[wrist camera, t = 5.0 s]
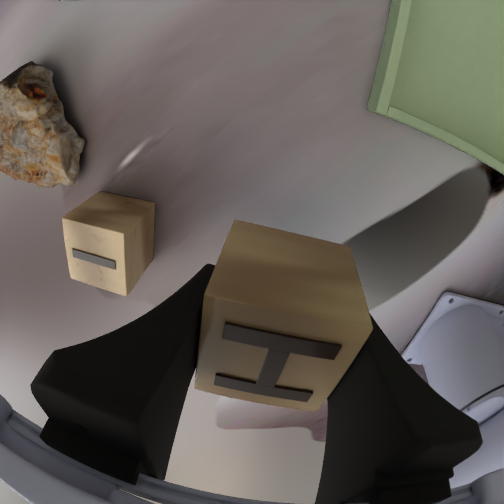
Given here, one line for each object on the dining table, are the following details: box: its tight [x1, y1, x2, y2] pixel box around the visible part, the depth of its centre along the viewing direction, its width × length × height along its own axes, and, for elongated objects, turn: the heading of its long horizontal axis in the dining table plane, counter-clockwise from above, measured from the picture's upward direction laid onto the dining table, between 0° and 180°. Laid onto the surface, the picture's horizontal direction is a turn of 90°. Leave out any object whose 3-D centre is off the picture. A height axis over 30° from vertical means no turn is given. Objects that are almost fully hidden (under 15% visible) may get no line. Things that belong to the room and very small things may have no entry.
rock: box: [0, 61, 85, 188], centre depth 14 cm, size 9×6×10 cm
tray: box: [367, 0, 504, 175], centre depth 10 cm, size 11×14×2 cm
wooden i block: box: [62, 191, 156, 297], centre depth 18 cm, size 4×4×5 cm
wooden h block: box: [194, 220, 373, 411], centre depth 10 cm, size 4×4×5 cm
